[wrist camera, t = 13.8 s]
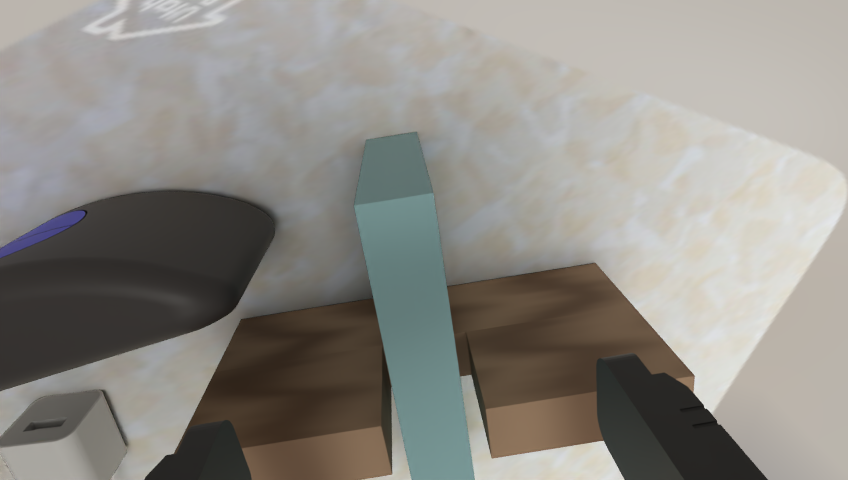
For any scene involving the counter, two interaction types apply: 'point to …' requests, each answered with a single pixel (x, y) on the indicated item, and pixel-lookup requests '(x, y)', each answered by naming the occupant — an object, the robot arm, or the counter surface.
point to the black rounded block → (123, 278)
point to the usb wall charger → (64, 439)
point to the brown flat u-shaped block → (477, 355)
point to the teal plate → (413, 305)
